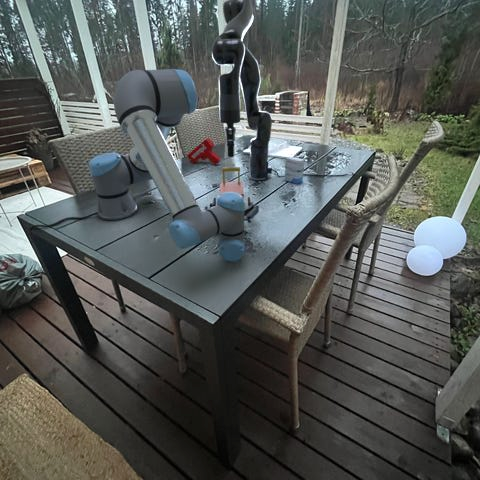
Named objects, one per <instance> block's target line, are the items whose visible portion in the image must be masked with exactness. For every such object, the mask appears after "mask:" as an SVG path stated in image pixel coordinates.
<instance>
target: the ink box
mask: <svg viewBox="0 0 480 480" xmlns="http://www.w3.org/2000/svg"><path fill="white" fill-rule="evenodd" d="M305 162H306V159H304V158H299V157H296V156H294V157H289V158H287V159H286V158H285V169H284V176H285V177H284V181H285V182H289V183H293V184H295V185H298V184H300V183H302V182H303V180H304V175H303V174H304V173H305V171H304V170H305Z"/></svg>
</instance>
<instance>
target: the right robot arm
mask: <svg viewBox="0 0 480 480" xmlns="http://www.w3.org/2000/svg"><path fill="white" fill-rule="evenodd" d="M222 13H223V17H224V22H225V26H224V29H223V32H222V33H221V34H219V35H218V36H217V37H216V38H215V39H214V41H213V43H212V46H211V56H212V60H213V61H214V63H215V64H216V65H219V66H233V67H232V69H231V70H230V71H229V72H226V73H225V72H224V73H222V74H220V75H219V77H218V92H219V94H218V95H219V96H218V108H219V122H220V123H221V124H226V126H224V134H225V141H226V147H227V157H228V158H234V157H235V149H234V148H235V141H236V133H237V131H236V130H237V129H236V126H234V125H235V124H238V123H240V122H241V96H240V88H241V91H242V97H243V101H244V106H245V116H246V122H247V125H248V127H249V129H250V130H251V131H254V132H256V137H254V138H251V139H250V146H251V148H250V154H249V157H250V158H249V160H250V161H249V165H250V166H249V167H250V168H249V178H250V180H253V181H256V182H257V181H265V180H268V179H269V175H271V174H273V172H274V173H275V174H276V177H278V178H285V175H282V176H280V175H279V172H278V171H277V170H276V169H273V168H272V165H271V164H269V156H268V145H269V141H270V139H271V136H272V128H273V127H272V126H273V120H272V115H271V113H270V112H268V111H262V110H260V107H259V101H258V95H259V90H260V86H261V74H260V67H259V62H258V60H257V59H256V58H255V56H254V55H253V53H252V52H251V51H250V50H249V49H248V48H247V47H246V45H245V43H244V42H243V39H244V36H245V35H246V33H247V31H248V30H249V28H250V27H251V26H252V23H253V21H254V8H253V3H252V0H225V1H224V2H223V4H222ZM351 173H352V174H351V175H352V176H355V174H354V172H351ZM348 175H349V174H347V173H344V174H314V173H313V174H311V173H303V176H310V177H329V178H330V177H331V178H333V177H345V176H348Z"/></svg>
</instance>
